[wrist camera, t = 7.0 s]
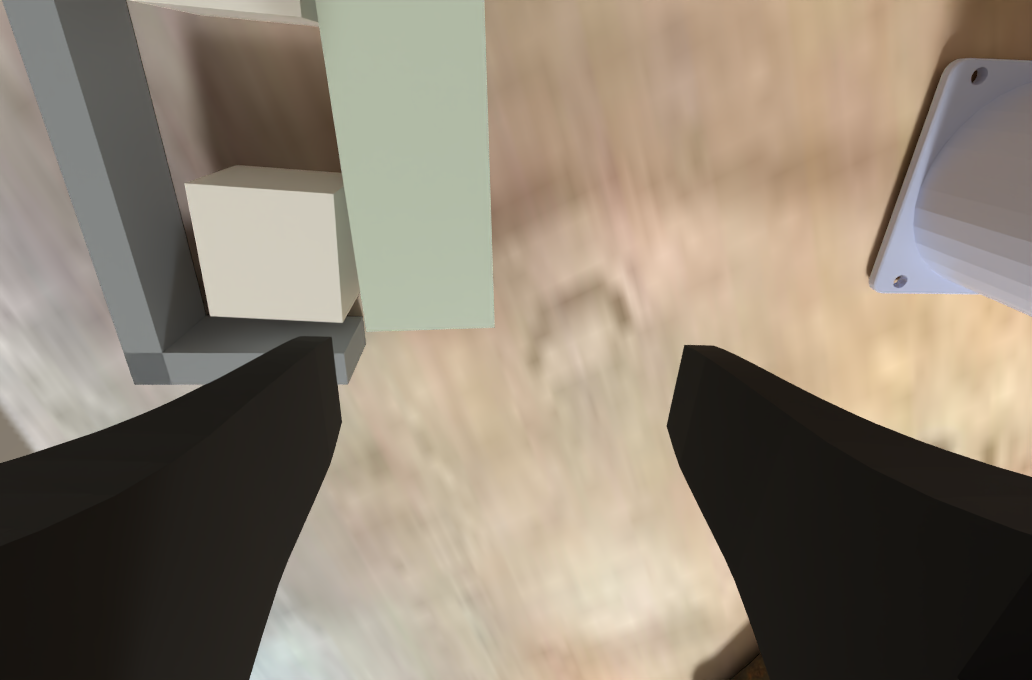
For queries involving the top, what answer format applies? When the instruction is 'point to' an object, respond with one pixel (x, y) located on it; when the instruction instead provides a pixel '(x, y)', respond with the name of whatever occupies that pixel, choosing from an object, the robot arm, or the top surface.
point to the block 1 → (247, 9)
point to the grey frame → (137, 200)
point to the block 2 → (274, 243)
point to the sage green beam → (414, 157)
